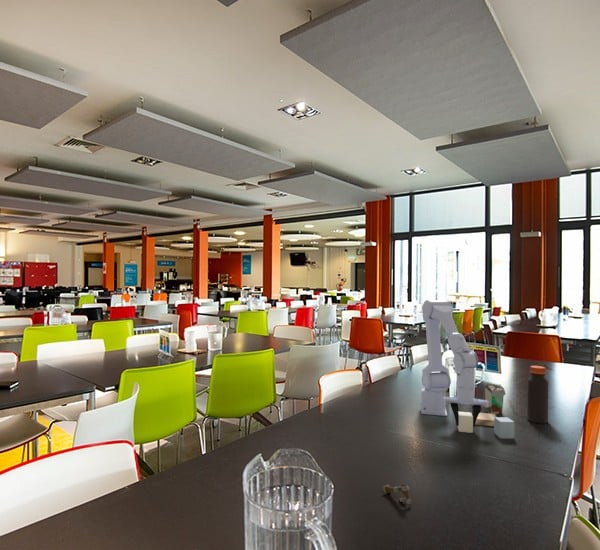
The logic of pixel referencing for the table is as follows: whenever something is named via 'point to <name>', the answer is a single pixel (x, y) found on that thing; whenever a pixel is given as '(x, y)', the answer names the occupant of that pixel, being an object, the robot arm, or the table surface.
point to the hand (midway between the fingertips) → (465, 425)
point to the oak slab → (485, 419)
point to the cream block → (465, 422)
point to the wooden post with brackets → (398, 489)
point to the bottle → (537, 396)
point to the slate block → (504, 427)
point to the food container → (494, 398)
